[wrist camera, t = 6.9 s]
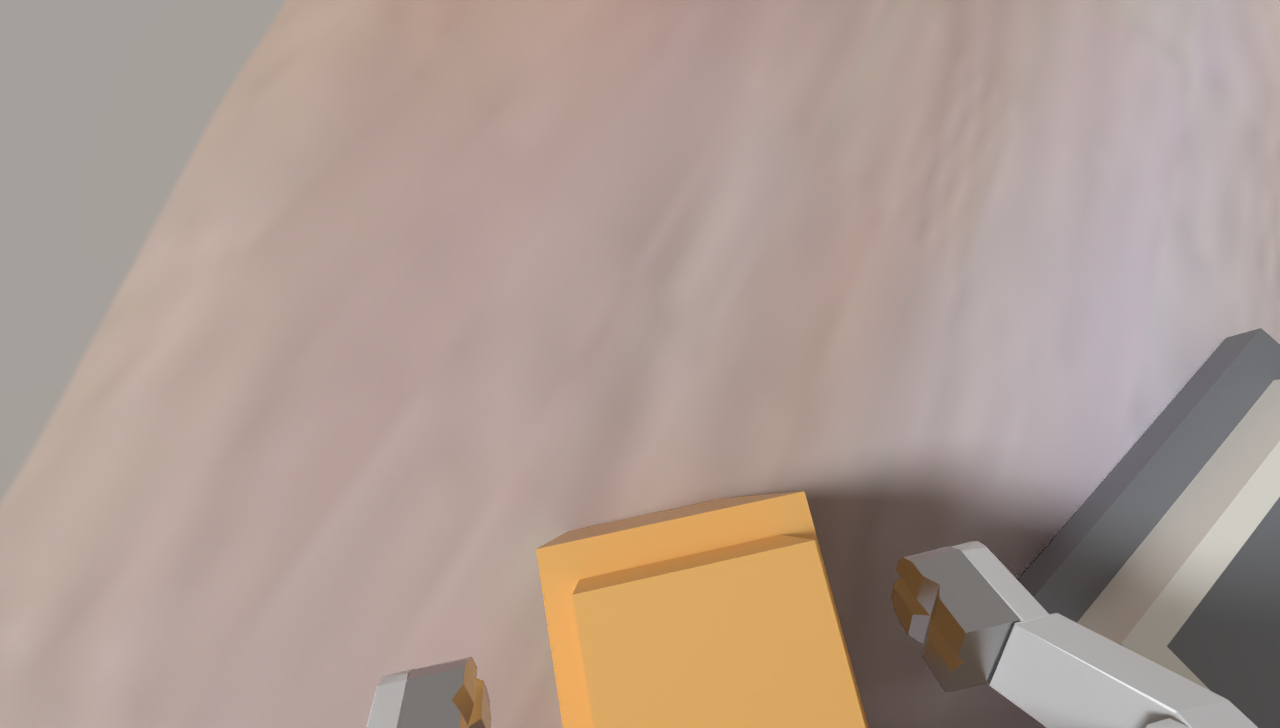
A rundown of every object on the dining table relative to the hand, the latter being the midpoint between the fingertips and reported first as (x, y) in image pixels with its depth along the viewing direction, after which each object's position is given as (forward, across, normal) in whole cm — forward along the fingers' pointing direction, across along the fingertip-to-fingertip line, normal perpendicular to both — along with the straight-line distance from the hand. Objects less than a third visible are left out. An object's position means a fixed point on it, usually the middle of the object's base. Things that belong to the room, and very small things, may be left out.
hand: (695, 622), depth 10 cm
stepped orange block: (+4, 0, +4) cm, 5 cm away
